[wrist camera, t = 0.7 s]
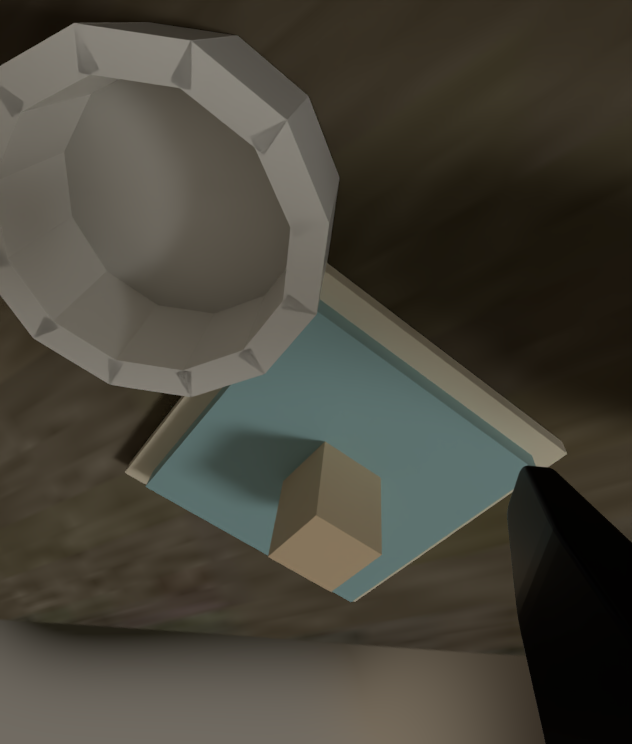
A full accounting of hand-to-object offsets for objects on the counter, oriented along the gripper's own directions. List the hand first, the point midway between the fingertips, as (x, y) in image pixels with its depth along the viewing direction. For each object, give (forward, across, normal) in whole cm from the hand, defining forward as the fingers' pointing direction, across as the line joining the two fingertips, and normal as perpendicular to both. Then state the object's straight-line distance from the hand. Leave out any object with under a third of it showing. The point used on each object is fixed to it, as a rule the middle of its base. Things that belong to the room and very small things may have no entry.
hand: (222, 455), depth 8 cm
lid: (+12, -1, +11) cm, 16 cm away
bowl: (+13, +4, 0) cm, 14 cm away
